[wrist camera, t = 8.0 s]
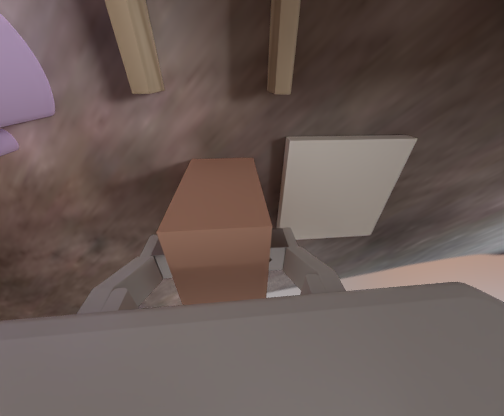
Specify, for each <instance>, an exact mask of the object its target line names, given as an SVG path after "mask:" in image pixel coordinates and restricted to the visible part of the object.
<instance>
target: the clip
mask: <svg viewBox="0 0 504 416" xmlns="http://www.w3.org/2000/svg"><path fill="white" fill-rule="evenodd" d="M54 113H55V104H54V98H53V94H52V91H51V88H50V85H49V82H48V80H47V77H46V75H45V73H44V71H43V69H42V67H41V65H40V64H39V62H38V60H37V58H36V57H35V55H34V54H33V52H32V51H31V49H30V48H29V47H28V45H27V44H26V42H25V41H24V40H23V38H22V37H21V36H20V35H19V33H18V32H17V31H16V30H15V29H14V28H13V26H12V25H11V24H10V23H9V22H8V21H7V20H6V19H5V18H4V17H3V16H2V15H1V14H0V127H5V126H9V125H13V124H18V123H22V122H27V121H31V120H35V119H40V118H44V117H49V116H52V115H54ZM18 149H19V144H18V142H17V141H16V140H15V138H14V137H13V136H12V135H11V134H10V133H9V132H7V131H5V130H3V129H0V156H2V155H5V154H8V153H11V152H14V151H16V150H18Z"/></svg>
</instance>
